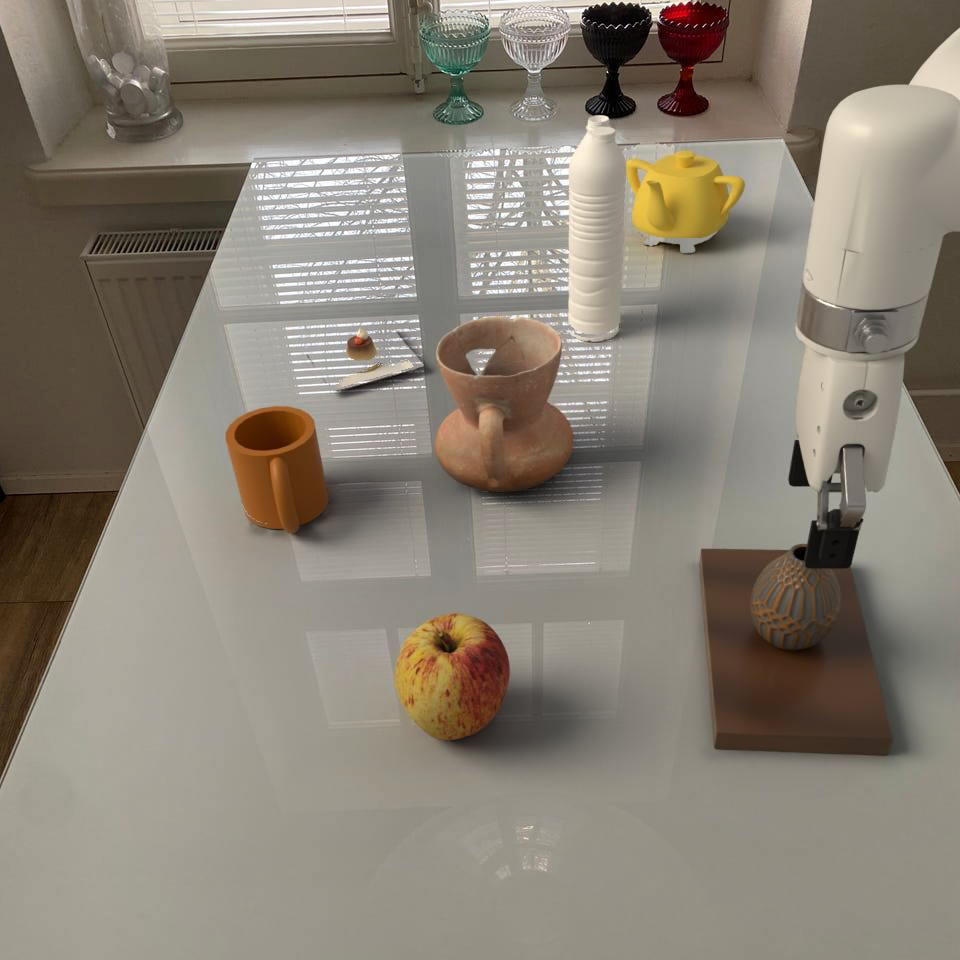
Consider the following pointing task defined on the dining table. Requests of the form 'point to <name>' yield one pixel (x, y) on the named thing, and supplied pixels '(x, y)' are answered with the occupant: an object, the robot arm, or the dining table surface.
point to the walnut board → (787, 670)
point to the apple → (452, 675)
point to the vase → (794, 602)
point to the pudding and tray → (365, 350)
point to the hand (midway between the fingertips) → (817, 523)
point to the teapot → (682, 196)
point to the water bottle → (596, 231)
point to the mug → (278, 467)
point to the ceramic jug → (503, 405)
